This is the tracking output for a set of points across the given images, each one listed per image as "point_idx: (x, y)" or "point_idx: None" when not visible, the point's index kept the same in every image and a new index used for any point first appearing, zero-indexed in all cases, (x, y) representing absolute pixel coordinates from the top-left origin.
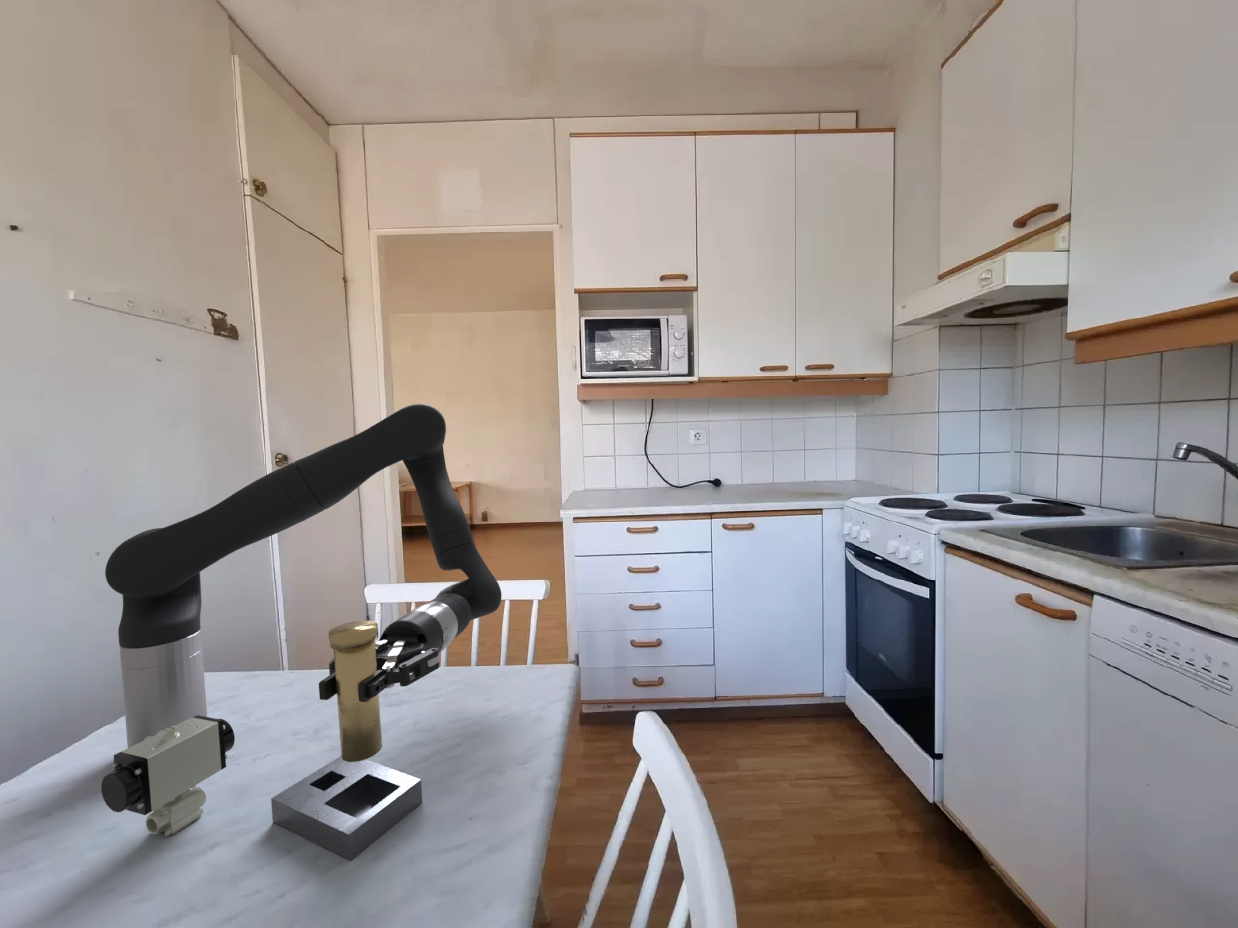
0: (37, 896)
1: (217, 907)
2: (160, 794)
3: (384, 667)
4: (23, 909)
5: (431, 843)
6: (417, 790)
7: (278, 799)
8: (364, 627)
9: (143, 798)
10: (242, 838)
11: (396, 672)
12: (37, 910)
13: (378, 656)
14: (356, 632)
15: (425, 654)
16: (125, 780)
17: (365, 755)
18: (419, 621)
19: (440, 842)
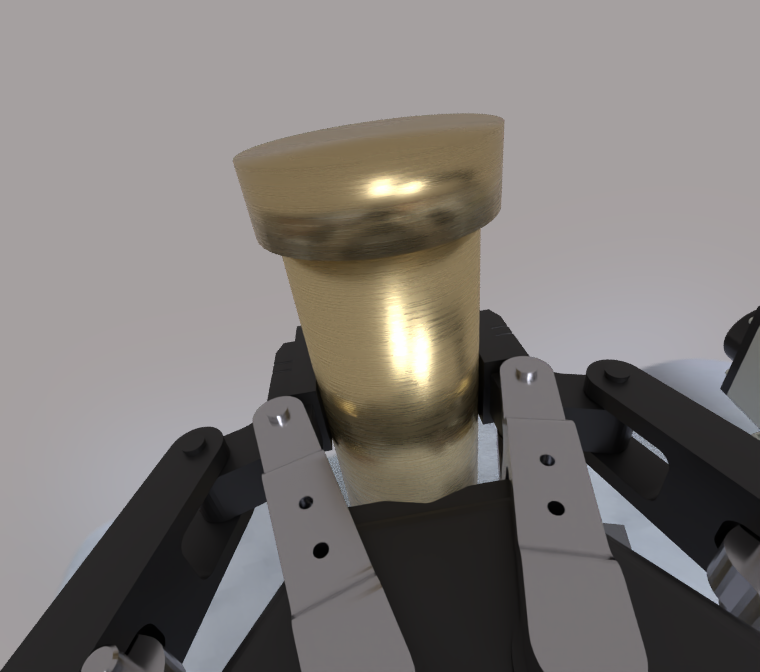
0: (713, 372)
1: (482, 425)
2: (745, 390)
3: (292, 406)
4: (694, 362)
5: (247, 609)
6: None
7: (604, 528)
8: (304, 147)
9: (731, 365)
10: (610, 507)
11: (235, 434)
12: (677, 366)
13: (446, 507)
14: (306, 138)
15: (71, 610)
16: (747, 317)
17: None
18: None
19: (230, 618)
